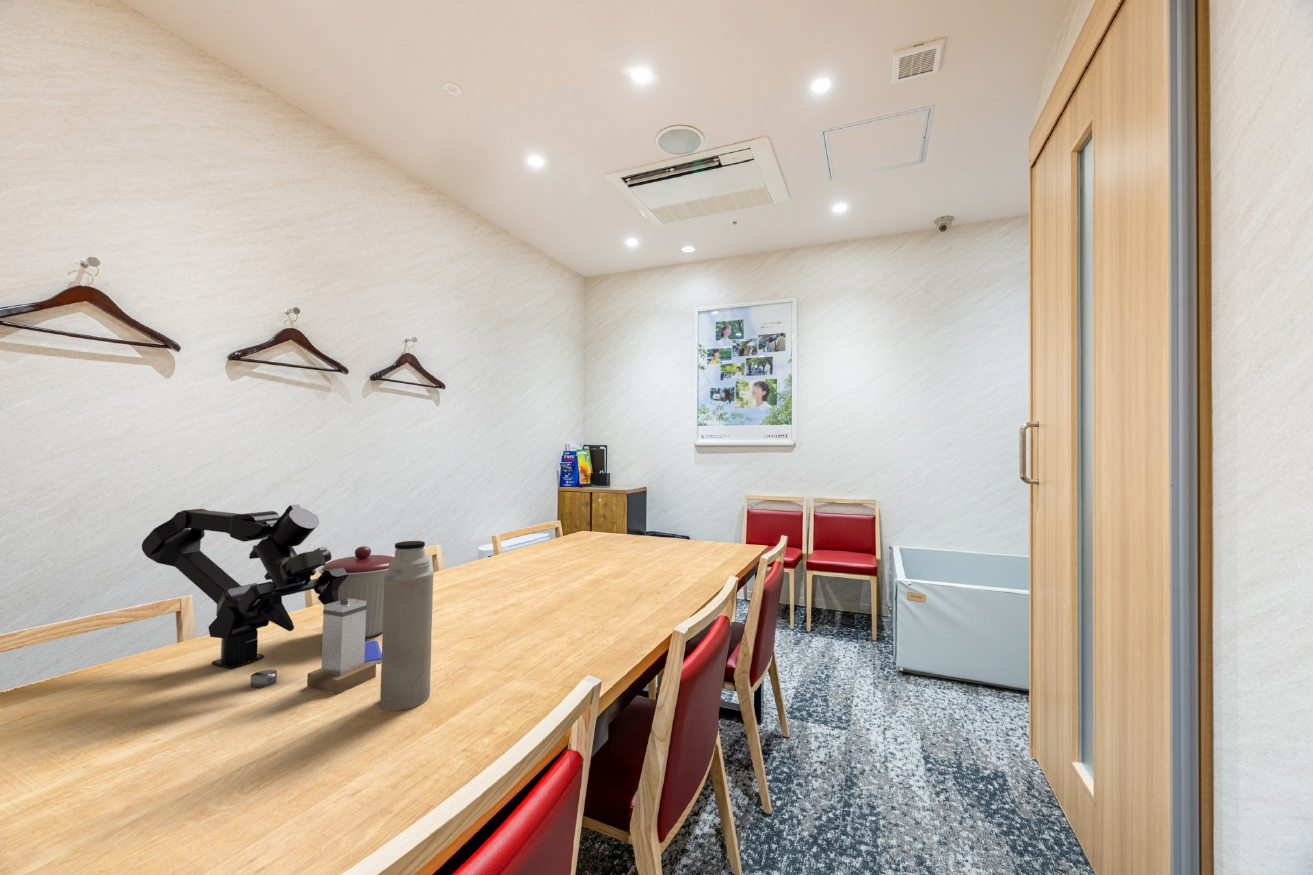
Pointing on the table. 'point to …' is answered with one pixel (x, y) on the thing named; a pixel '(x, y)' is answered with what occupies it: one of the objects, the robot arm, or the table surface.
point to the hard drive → (372, 652)
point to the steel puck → (263, 678)
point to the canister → (364, 584)
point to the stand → (340, 679)
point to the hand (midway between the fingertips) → (315, 622)
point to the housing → (343, 636)
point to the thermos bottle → (407, 628)
